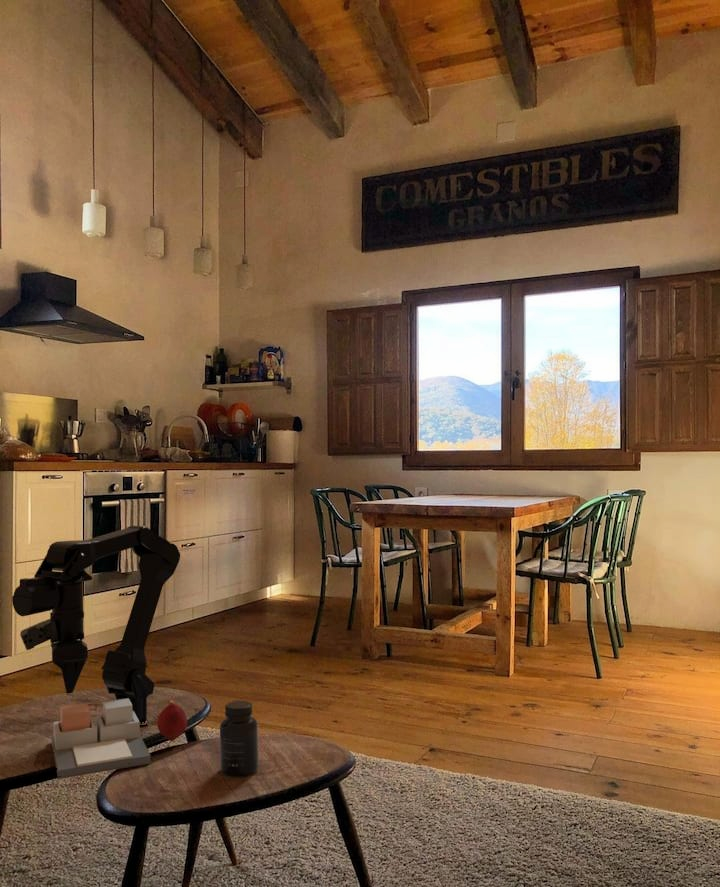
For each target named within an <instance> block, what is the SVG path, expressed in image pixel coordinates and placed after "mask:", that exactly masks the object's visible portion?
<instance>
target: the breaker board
mask: <svg viewBox="0 0 720 887" xmlns="http://www.w3.org/2000/svg"><path fill="white" fill-rule="evenodd" d="M52 726H53V727H52V728H53V734H51V737H50V738H51V742H52V743H51V742H50V743H51V747H53V749H52V752H54V754H53V758H54V757H55V759H54V763H55V762H56V765H55V768H57V770H56V775H57V779H58V780H59V779H60V780H61V779H65V778H72V777H77V776H84V775H90V774H96V773H101V772H103V773H104V772H107V771H115V770H120V769H121V770H122V769H126V768H132V767H138V766H144V765H150V764H151V757H152V756H151V753H150V751H149V750H148V748H147V746H146V744H145V742H144V740H143V738H142V735H141V734H140V733H141V732H140V731H141V726H140V722H139V720H138V718H137V716H136V714H135V712H134V711H132V722H128V723H121V724H114V725H107V726H105V725H104V723H103V714H101V715H96V716H95V719H94V716H90V728H86V729H79V730H72V731H65V732H61V728H60V720H58V721H57V720H56V721H53V725H52ZM129 763H130V764H129ZM59 776H60V777H59Z"/></svg>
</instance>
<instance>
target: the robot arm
mask: <svg viewBox="0 0 720 887" xmlns="http://www.w3.org/2000/svg"><path fill="white" fill-rule="evenodd" d="M129 549H131V550H132V552H133V554H135V555H136V556H137V557H138V558H139V560H138V565H137V566H138V567H137V568H138V570H139V571H138V572H139V575H140V581H139V585H138V588H137V591H136V594H135V597H134V601H133V604H132V607H131V609H130V610H131V611H130V614H129V617H128V620H127V623H126V626H125V630H124V633H123V636H122V639H121V642H120V645H118V647H117V648H115V649H114V650H110V649H108V651H107V653H106V655H105V659H104V660H105V661H104V663H103V664H102V667H101V668H100V669H101V670H102V674H101V679H102V681H103V683H104V685H105V687H106V689H107V693H108V694H110V695H114V699H113V700H119V699H126V698H129V700H130V702H131V704H132V711H134V712H135V714H136V716H137V718H138V720H139V722H140V723H141V724H142V722H144V723H145V721H146V720H147V721H148V722H149V720H148V718H147V717H148V716H147V713H148V712H147V710H148V705H147V703H148V702H147V701H148V700H147V698H148V697H149V696H151V695H153V692H154V688H155V686H156V685H155V682H154V681H152V679H151V678H150V677H149V676H148V675H146V670H147V660H146V659H147V658H146V654H145V646H146V643H147V641H148V640H147V639H148V637H149V634H150V630H151V626H152V623H153V620H154V618H155V613H156V610H157V607H158V603H159V601H160V598H161V597H160V596H161V594H162V592H163V587H164V585H165V584H166V583H167V582H168V580H169V579H170V578H171V577H172V576H173V575H174V574H175V571H176V569H177V567H178V564H179V562H180V560H181V559H180V558H181V552H180V551H179V548H178V547H177V545H176V544H175V543H173V542H172V543H171V542H170V541H169V540H167V539H166V538H163V537H162V536H161V535H158V534H156V533H155V532H154V531H152V530H151V529H150V528H149V527H147V526H145V525H144V526H143V525H129V526H128V527H126V528H123V529H118V530H116V531H112V532H109V533H106V534H102V535H100V536H96V537H92V538H88V539H82V540H80V539H79V540H62V541H55V542H52V543H51V544H50V545H49V548H48V549H47V552H46V555H45V556H44V558H43V560H42V561H41V563H40V565H39V567H38V569H37V571H36V572H35V573H34V577H32V578H31V577H30V578H27V577H25V578H20V579H19V585H18V586H17V587H16V588H15V589H14V592H13V595H12V598H11V601H12V607H13V609H14V611H15V612H16V614H17V615H18V616H19V617H28V616H31V615H36V614H40V613H46V612H49V611H51V612H50V613H49V615H50V616H49V617H50V618H49V619H46V620H43V621H40V622H38V623H35V624H34V625H31V626H29V627H26V628H24V629H22V630H20V634H19V635H20V637H21V640H22V643H23V644H24V646H25V650H26V651H30V650H32V649H34V648H35V647H37V646H38V645H41V644H43V643H45V642H48V641H49V642H50V647H51V663H52V664H53V665H54V666H57V667H58V668H60V670H61V674H62V679H63V683H64V688H65V693H66V694H72V693H74V690H75V688H76V686H77V683H78V681H79V678H80V676H81V673H82V671H83V669H84V666H85V664H86V662H87V660H88V658H89V656H88V655H89V650H88V645H87V643H86V642H85V641H83V640H85V632H84V619H85V611H84V582H88V581H92V580H93V576H92V575H90V574H89V573H87V571H86V569H88V568H90V567H91V566H93V565H94V563H95V562H96V561H98V560H99V559H102V558H104V557H105V558H106V557H107V556H110V555H113V554H116V553H119V552H123V551H126V550H129Z"/></svg>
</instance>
